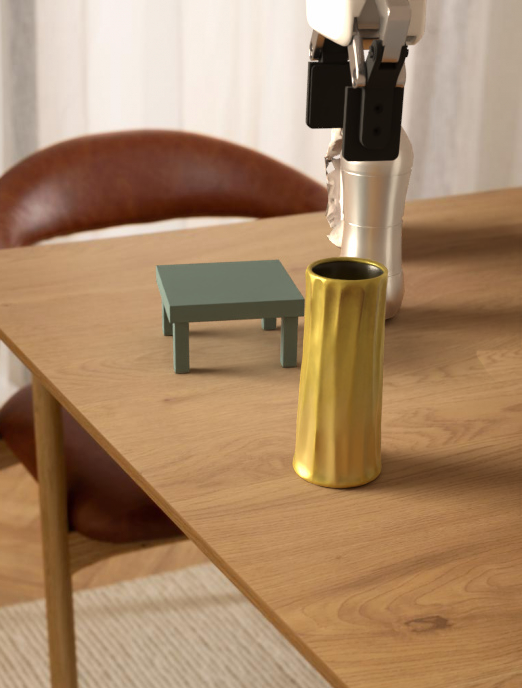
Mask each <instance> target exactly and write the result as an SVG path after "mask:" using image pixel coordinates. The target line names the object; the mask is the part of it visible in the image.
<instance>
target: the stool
mask: <svg viewBox="0 0 522 688" xmlns="http://www.w3.org/2000/svg"><path fill="white" fill-rule="evenodd" d="M155 282H156V285H157V289H158V291H159V295H160V297H161V331H162V334H163V336H172V355H173V359H172V360H173V371H174V373H175V374H187V373H190V323H205V322H206V323H208V322H226V321H227V322H228V321H243V320H244V321H245V320H260V325H261V328H262V330H263V331H271V330H277V321H278V320H277V319H280V348H279V351H280V352H279V363H280V365H281V367H282V368H297V366H298V340H299V339H298V335H299V318H300V317H302V318H303V317H305V296H303V294H302V293H301V291H300V289H299V288H298V287H297V285H296V283H295V282H294V280H293V279H292V277H291V276H290V274H289V272H288V271H287V269H286V268H285V267H284V265H283V264H282V262H281V261H280V259H263V260H259V259H258V260H242V261H241V260H239V261H237V260H236V261H220V262H219V261H217V262H216V261H215V262H198V263H178V264H176V263H175V264H157V265H155Z"/></svg>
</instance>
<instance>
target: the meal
mask: <svg viewBox="0 0 522 688" xmlns="http://www.w3.org/2000/svg"><path fill="white" fill-rule="evenodd" d="M330 138H331V139H330V142H329V144H328V147H327V148H328V149H327V151H326V155H325V156H324V157H323V158H324V171H325V177H326V181H327V182H326V189H327V190H326V191H327V198H328V199H327V200H328V202H327V204H326V209H325V215H324V216H325V217H326V221H327V222H328V224H329V226H330V229H332V230H330V233H328V234H326V237H327V239H328V240H329V242H331V243H332V244H333V245H335V246H336V247H338V248H341V243H342V236H343V218H344V213H343V186H342V175H341V167H342V166H341V164H340V157H338V158H334V157H337V156H340V153H341V150H342V138H343V128H331V131H330ZM330 163H332V165H333V168H334V170H332V171H330V172H328V170H327V168H328V167H329V165H330Z"/></svg>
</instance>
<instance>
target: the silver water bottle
mask: <svg viewBox="0 0 522 688" xmlns="http://www.w3.org/2000/svg"><path fill="white" fill-rule="evenodd" d="M339 156H340V157H339V158H340V164H341V166H342V167H341V175H342V186H343V213H344V218H343V236H342V243H341V247H340V254H339V257H358V258H365V259H370V260H374V261H377V262H379V263H381V264H383V265H384V266H385V267H386V268H387V269H388V282H387V292H386V313H385V320H387V319H391V318H393V317H394V316H396V314H397V313H398V311H399V310H401V307H402V304H403V300H404V295H405V275H404V269H403V248H402V247H403V235H402V234H403V225H404V220H403V217H404V215H405V207H406V199H407V194H408V189H409V185H410V180H411V175H412V171H413V170H412V168H413V166H414V158H415V153H414V148H413V144H412V142H411V140H410V139H409V136H408V134H407V132H406V131H405V128H404V127H403V126H402V125H401V136H400V148H399V156H398V158H397V159H395V160H393V161H362V162H348V161H346V160H345V159H344V158H343V157H342V150H341V153H340V155H339Z"/></svg>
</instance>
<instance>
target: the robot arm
mask: <svg viewBox="0 0 522 688" xmlns="http://www.w3.org/2000/svg"><path fill="white" fill-rule="evenodd" d="M427 1H428V0H305V7H306V9H305V11H306V20H307V23H308V25H309V26H310V28H311V29H312V32H311V38H310V41H309V46H308V57H309V60H310V61H307V77H306V78H307V79H306V100H305V101H306V102H305V103H306V104H305V125H306V126H307V127H308V128H309V129H311V130H323V129H324V130H325V129H326V130H327V129H333V128H343V138H342V157H343V158H344V159H345V160H346V161H348V162H362V161H393V160H395V159H397V158H398V156H399V148H400V136H401V126H402V122H403V121H402V120H403V111H404V110H403V109H404V96H405V86H406V81H407V68H406V67H407V66H406V60H407V58H408V57H409V53H410V49H409V48H408V47H409V46H415V45H416V44H418V43H419V42H420V41H421V40H422V38H423V37H424V35H425V32H426V31H425V30H426V20H427V18H426V17H427V4H428V3H427ZM365 51H368V52H367V55H366V58H365Z"/></svg>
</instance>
